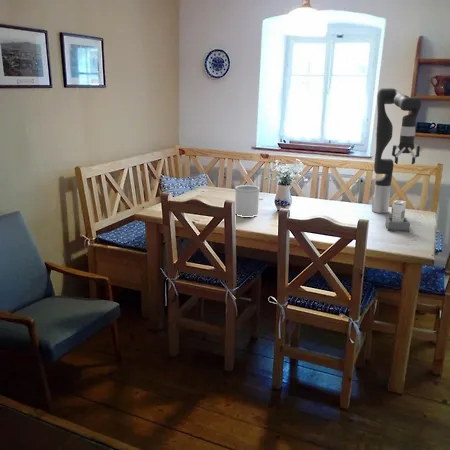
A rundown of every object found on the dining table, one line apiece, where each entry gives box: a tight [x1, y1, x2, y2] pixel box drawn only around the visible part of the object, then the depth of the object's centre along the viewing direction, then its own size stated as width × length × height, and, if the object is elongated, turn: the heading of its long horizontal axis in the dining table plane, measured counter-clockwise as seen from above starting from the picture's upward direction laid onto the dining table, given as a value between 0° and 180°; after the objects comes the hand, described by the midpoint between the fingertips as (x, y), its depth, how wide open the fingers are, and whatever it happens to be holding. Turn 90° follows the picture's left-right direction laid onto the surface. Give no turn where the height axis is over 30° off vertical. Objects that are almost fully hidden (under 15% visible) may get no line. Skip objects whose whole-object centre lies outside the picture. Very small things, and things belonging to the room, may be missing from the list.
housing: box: [384, 216, 411, 233], centre depth 261 cm, size 11×11×5 cm
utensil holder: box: [234, 184, 260, 216], centre depth 288 cm, size 15×15×18 cm
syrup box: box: [390, 199, 407, 222], centre depth 260 cm, size 6×6×14 cm
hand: (404, 164), depth 264 cm, fingers open, 8 cm apart
